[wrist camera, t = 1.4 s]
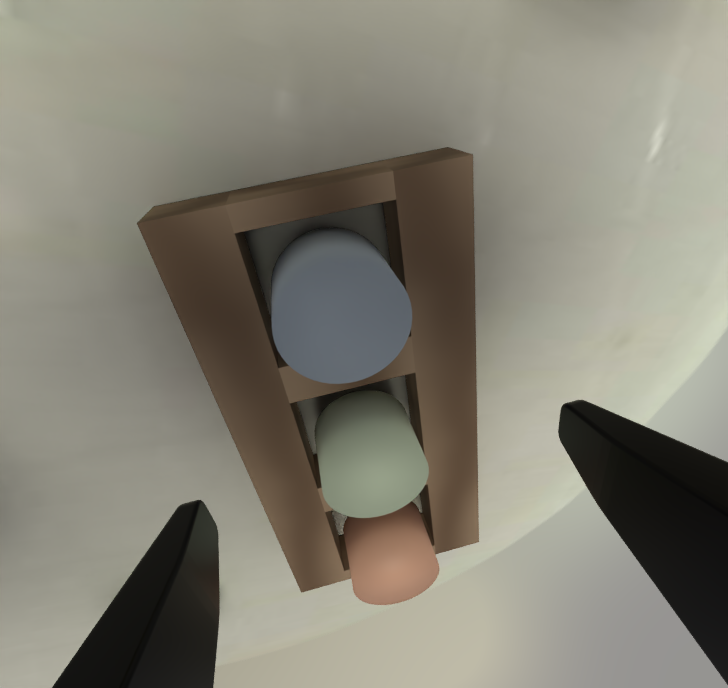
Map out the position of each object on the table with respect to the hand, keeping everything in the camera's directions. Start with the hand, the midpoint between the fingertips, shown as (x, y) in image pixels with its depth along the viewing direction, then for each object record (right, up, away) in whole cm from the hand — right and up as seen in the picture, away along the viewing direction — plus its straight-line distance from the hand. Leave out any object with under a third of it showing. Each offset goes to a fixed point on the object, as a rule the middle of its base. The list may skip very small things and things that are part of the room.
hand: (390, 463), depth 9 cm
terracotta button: (+1, -8, +17) cm, 19 cm away
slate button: (-2, +5, +8) cm, 10 cm away
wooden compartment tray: (-1, -1, +14) cm, 14 cm away
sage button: (-1, -2, +13) cm, 13 cm away
